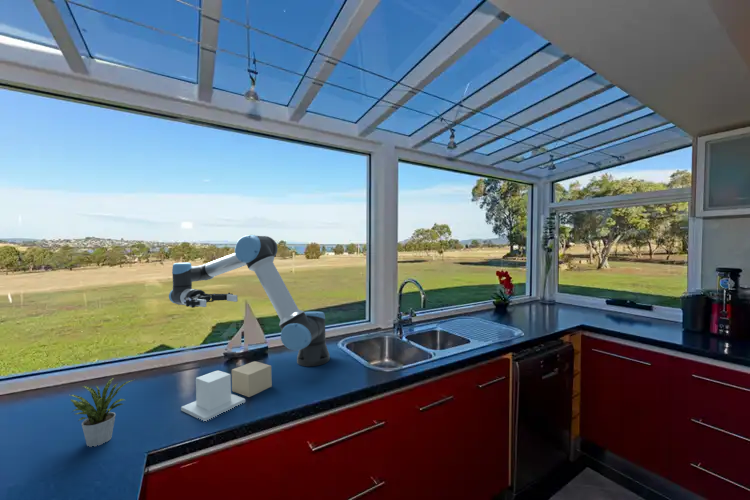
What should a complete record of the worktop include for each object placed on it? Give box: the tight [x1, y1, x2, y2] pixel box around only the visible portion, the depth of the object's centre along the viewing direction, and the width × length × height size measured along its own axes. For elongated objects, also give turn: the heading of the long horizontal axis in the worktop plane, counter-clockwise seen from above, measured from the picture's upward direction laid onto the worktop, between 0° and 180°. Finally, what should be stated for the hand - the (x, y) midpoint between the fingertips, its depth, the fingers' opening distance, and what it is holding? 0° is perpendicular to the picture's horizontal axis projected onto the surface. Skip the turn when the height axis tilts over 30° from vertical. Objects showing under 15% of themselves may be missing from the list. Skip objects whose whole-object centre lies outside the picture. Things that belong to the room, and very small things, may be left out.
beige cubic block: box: [231, 360, 273, 398], centre depth 117 cm, size 10×10×8 cm
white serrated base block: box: [180, 370, 246, 422], centre depth 104 cm, size 14×14×10 cm
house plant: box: [70, 377, 134, 448], centre depth 87 cm, size 14×14×16 cm
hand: (221, 300), depth 127 cm, fingers open, 13 cm apart
